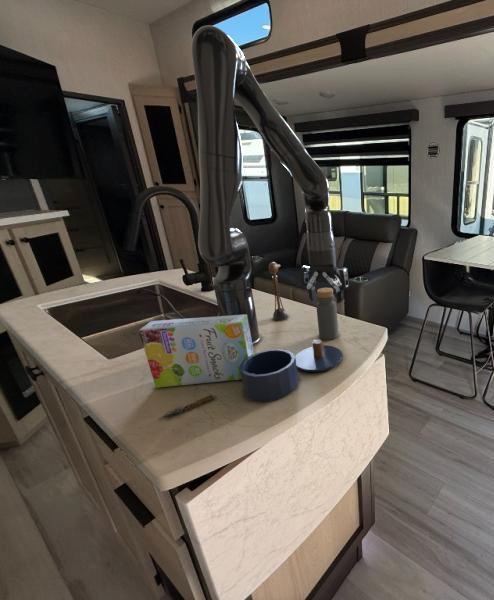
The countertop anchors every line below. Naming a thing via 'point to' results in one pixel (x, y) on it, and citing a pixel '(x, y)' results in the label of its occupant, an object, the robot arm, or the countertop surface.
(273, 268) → the wooden tabletop sculpture
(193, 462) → the countertop surface
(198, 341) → the snack box
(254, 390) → the blue round container
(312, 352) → the lid
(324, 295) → the bottle
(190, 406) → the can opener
